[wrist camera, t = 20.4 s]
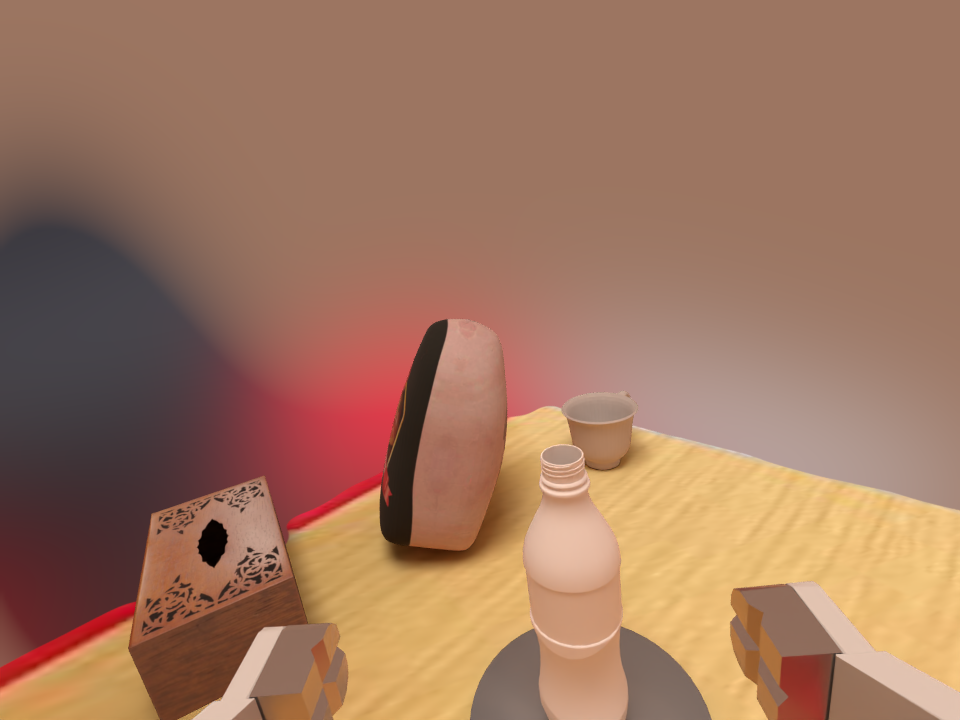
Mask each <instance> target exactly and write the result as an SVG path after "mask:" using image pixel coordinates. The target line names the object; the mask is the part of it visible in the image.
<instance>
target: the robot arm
mask: <svg viewBox="0 0 960 720" xmlns="http://www.w3.org/2000/svg"><path fill="white" fill-rule="evenodd" d="M731 606H732V607H733V609H734V611H735V613H736V614H737V615H736V616H735V617H734V618H733V620H732V621H731V622H730V636H731V641H732V645H733V650H734V653H735V656H736V658H737V661H738V663H739V665H740V667H741V669H742V671H743V673H744V675H745V676H746V677H747V678H749V679H750V680H751V681H753V682H754V683H755V684H757V700H758V701H759V703H760V705H761V707H762V709H763V711H764V713H765V714H766V716H767V718H768V720H960V692H958V691H956V690H954V689H953V688H951V687H949V686H947V685H945V684H944V683H942V682H940V681H938V680H936V679H935V678H933V677H931V676H929V675H927V674H925V673H924V672H922V671H920V670H918V669H916V668H915V667H913V666H911V665H909V664H907V663H906V662H904V661H902V660H900V659H898V658H897V657H895V656H893V655H891V654H889V653H888V652H886V651H875V649H874V648H873V647H872V646H871V645H870V644H869V642H868V641H867V640H866V639H865V638H864V637H863V636H862V634H861V633H860V632H859V631H858V630H857V629H856V627H855V626H854V625H853V624H852V623H851V622H850V620H849V619H848V618H847V617H846V616H845V615H844V613H843V612H842V611H841V610H840V609H839V608H838V607H837V605H836V604H835V603H834V602H833V601H832V600H831V598H830V597H829V596H828V595H827V594H826V593H825V591H824V590H823V589H822V588H821V587H820V586H819V585H818V584H817V583H815V582H813V581H808V582H797V583H787V584H777V585H767V586H756V587H746V588H735V589H733V591H732V594H731ZM339 639H340V634H339V631H338V628H337V625H336V624H333V623H323V624H305V625H288V626H280V627H264V628H263V629H262V630H261V631H260V632H259V633H258V634H257V636H256V637H255V639H254V641H253V643H252V645H251V647H250V648H249V650H248V652H247V654H246V656H245V657H244V659H243V661H242V663H241V665H240V666H239V668H238V670H237V672H236V674H235V676H234V677H233V679H232V681H231V683H230V685H229V686H228V688H227V690H226V692H225V694H224V695H223V697H222V699H221V701H213V702H212V703H211V704H210V705H209V706H207V707H206V708H205V709H204V710H203V711H201V712H200V713H199V714H198V715H197V716H195V717H194V718H193V719H192V720H333V717H332V716H333V715H334V714H335V713H336V712H337V711H338V710H339V709H340V707H341V706H342V705H343V702H344V698H345V695H346V691H347V682H348V664H347V659H346V655H345V653H344V652H343V651H342V650H340V649H339V648H338V647H337V645H338V642H339Z"/></svg>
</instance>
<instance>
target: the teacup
mask: <svg viewBox="0 0 960 720" xmlns="http://www.w3.org/2000/svg"><path fill="white" fill-rule="evenodd" d="M637 410H638V405H637V403H636V402H635V401H634V400H632V399H631V398H630V395H629V393H628V392H626V391H620V392H619V393H618V394H615V393H604V392H600V393H589V394H584V395H580V396H577V397H574V398H572V399H570V400H568V401H567V402H566V403H565V404H564V405H563V406H562V413H563V415H564V416H565V417H566V418H567V420H568V424H569V428H570V433H571V437H572V442H573V445H574V446H576V447H578V448H580V449H581V450H582V452H583V454H584V459H585V463H586V464H587V465H588V466H589V467H591V468H594V469H599V470H606V469H611V468H614V467H616V466H618V465H619V463H620V458H622V457H623V456H624V455H625V454H626V453H627V451H628V449H629V446H630V442H631V433H632V423H633V416H634V415H635V414H636V412H637Z"/></svg>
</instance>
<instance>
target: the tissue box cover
mask: <svg viewBox="0 0 960 720" xmlns="http://www.w3.org/2000/svg"><path fill="white" fill-rule="evenodd" d="M305 624H308V622H307V619H306V615H305V612H304V608H303V605H302V601H301V598H300V594H299V591H298V587H297V584H296V580H295V577H294V573H293V570H292V566H291V563H290V559H289V556H288V552H287V549H286V545H285V542H284V538H283V535H282V531H281V528H280V525H279V521H278V518H277V515H276V512H275V508H274V505H273V502H272V498H271V495H270V492H269V488H268V485H267V482H266V478H265V476H262V477H259V478H256V479H253V480H250V481H247V482H244V483H241V484H239V485H236V486H232V487H230V488H227V489H224V490H221V491H218V492H215V493H212V494H209V495H206V496H203V497H200V498H198V499H194V500H191V501H189V502H186V503H183V504H180V505H177V506H174V507H171V508H168V509H165V510H162V511H159V512H157V513H154V514H152V515H151V521H150V527H149V532H148V538H147V544H146V550H145V555H144V562H143V567H142V573H141V578H140V584H139V590H138V596H137V601H136V607H135V613H134V619H133V624H132V630H131V636H130V642H129V647H128V649H129V652H130V654H131V656H132V658H133V661H134V663H135V665H136V667H137V669H138V672H139V674H140V676H141V678H142V680H143V683H144V685H145V687H146V689H147V691H148V694H149V696H150V698H151V700H152V703H153V705H154V707H155V709H156V711H157V714H158V716H159V718H160V720H177V719H179V718H181V717H183V716H185V715H187V714H189V713H191V712H193V711H195V710H197V709H199V708H201V707H203V706H205V705H207V704H209V703H211V702H213V701H215V700H217V699H219V698H221V697H223V695H224V694H225V692H226V690H227V688H228V686H229V685H230V683H231V681H232V679H233V677H234V676H235V674H236V672H237V670H238V668H239V666H240V665H241V663H242V661H243V659H244V657H245V656H246V654H247V652H248V650H249V648H250V647H251V645H252V643H253V641H254V639H255V637H256V636H257V634H258V633H259V632H260V631H261V630H262V629H263V628H264V627H280V626H288V625H305Z"/></svg>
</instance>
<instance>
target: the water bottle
mask: <svg viewBox="0 0 960 720" xmlns="http://www.w3.org/2000/svg"><path fill="white" fill-rule="evenodd" d="M540 460H541V470H542V472H541V475H540V481H539V486H540V489H541V491H542V492H543V496H542V501H541V504H540V506H539V508H538V510H537V512H536V514H535V516H534V518H533V520H532V522H531V524H530V526H529V529H528V531H527V533H526V536H525V540H524V546H523V563H524V567H525V569H526V575H527V583H528V591H529V599H530V618H531V622H532V625H533V627H534V630H535V632H536V634H537V637H538V641H539V645H540V662H541V666H540V676H539V691H540V699H541V703H542V706H543V708H544V710H545V712H546V715H547V717H548V719H549V720H625V719H626V714H627V708H628V686H627V680H626V676H625V672H624V670H623V667H622V662H621V657H620V645H619V640H620V628H621V622H622V617H623V608H622V603H621V584H620V564H621V556H620V550H619V545H618V542H617V539H616V537H615V535H614V533H613V531H612V529H611V527H610V526H609V524H608V523H607V521H606V520H605V519H604V517H603V516H602V514H601V513H600V512H599V510H598V509H597V508H596V506H595V505H594V504H593V502H592V500H591V498H590V496H589V493H588V489H589V487H590V479H589V477H588V475H587V471H586V470H585V468H584V467H585V462H584V461H585V459H584V454H583V452H582V450H581V449H580V448H578V447H576V446H572V445H562V444H560V445H554V446H551V447H548V448H546V449H545V450H544V451H543V452H542V453H541V457H540Z"/></svg>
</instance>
